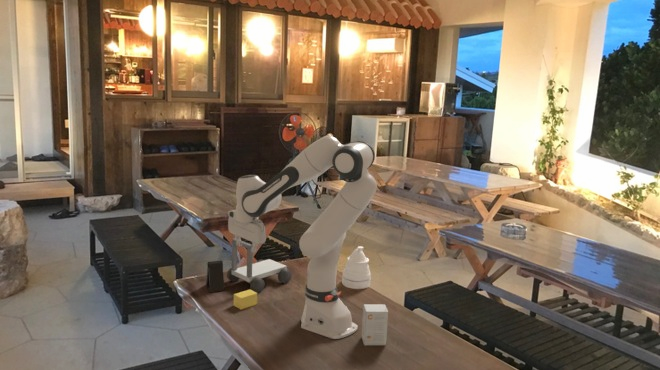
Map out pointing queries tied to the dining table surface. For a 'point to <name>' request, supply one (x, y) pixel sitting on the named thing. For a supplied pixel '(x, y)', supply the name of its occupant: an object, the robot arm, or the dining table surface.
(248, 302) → the tall gold block
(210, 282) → the phone stand
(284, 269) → the flatbed trolley
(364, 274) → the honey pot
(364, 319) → the small box
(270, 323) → the dining table surface
